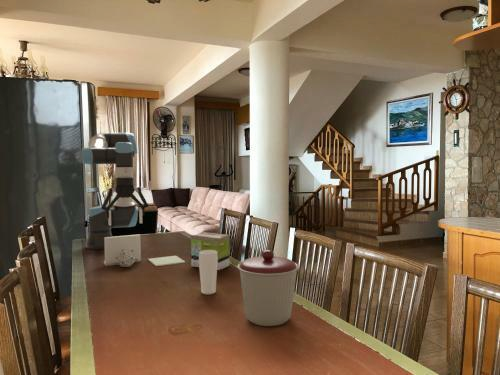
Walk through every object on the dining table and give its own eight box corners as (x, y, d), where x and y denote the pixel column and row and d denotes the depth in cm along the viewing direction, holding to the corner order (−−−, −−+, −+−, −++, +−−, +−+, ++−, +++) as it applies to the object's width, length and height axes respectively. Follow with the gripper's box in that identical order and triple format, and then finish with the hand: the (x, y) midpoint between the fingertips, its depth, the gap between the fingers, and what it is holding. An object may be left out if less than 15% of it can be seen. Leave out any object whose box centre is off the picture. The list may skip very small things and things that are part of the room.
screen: (103, 263, 187) (103, 236, 186) (138, 259, 194) (137, 233, 193) (105, 266, 181) (105, 238, 180) (140, 261, 189) (140, 235, 188)
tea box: (190, 267, 179) (190, 234, 178) (203, 262, 188) (202, 231, 187) (218, 271, 172) (218, 237, 171) (230, 265, 181) (230, 234, 180)
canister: (262, 304, 131) (262, 241, 129) (310, 318, 119) (310, 249, 118) (225, 321, 117) (224, 251, 115) (275, 338, 105) (274, 260, 104)
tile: (148, 260, 192) (148, 258, 192) (175, 256, 199) (175, 255, 199) (155, 266, 180) (155, 265, 180) (185, 262, 187) (185, 261, 187)
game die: (130, 274, 181) (144, 256, 183) (123, 272, 173) (137, 253, 175) (116, 263, 183) (129, 245, 185) (108, 261, 175) (122, 242, 177)
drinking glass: (220, 290, 145) (220, 250, 144) (213, 296, 139) (212, 254, 138) (204, 288, 147) (203, 249, 147) (195, 294, 141) (195, 253, 140)
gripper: (96, 177, 167) (97, 227, 168) (154, 176, 179) (155, 223, 180) (93, 177, 174) (95, 225, 175) (150, 176, 186) (151, 221, 187)
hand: (125, 224), depth 178 cm, fingers open, 13 cm apart
